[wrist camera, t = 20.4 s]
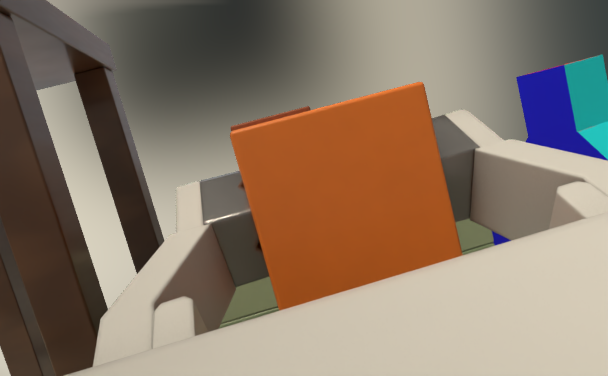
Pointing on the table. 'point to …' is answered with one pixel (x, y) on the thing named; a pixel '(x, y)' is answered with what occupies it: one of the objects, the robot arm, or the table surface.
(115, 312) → the robot arm
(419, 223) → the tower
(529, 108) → the building blocks toy
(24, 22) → the stand
